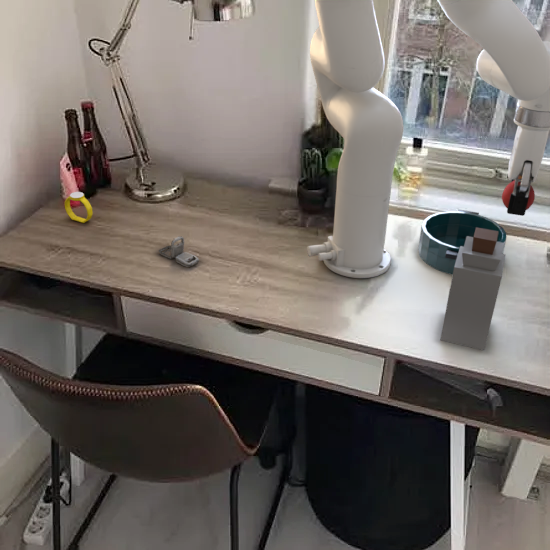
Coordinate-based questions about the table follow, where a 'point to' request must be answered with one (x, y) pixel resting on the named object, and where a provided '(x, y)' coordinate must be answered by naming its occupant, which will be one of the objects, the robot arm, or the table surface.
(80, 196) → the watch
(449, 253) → the pot handles
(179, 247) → the strap clip
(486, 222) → the pot
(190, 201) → the table surface
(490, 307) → the perfume bottle
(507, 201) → the onion
